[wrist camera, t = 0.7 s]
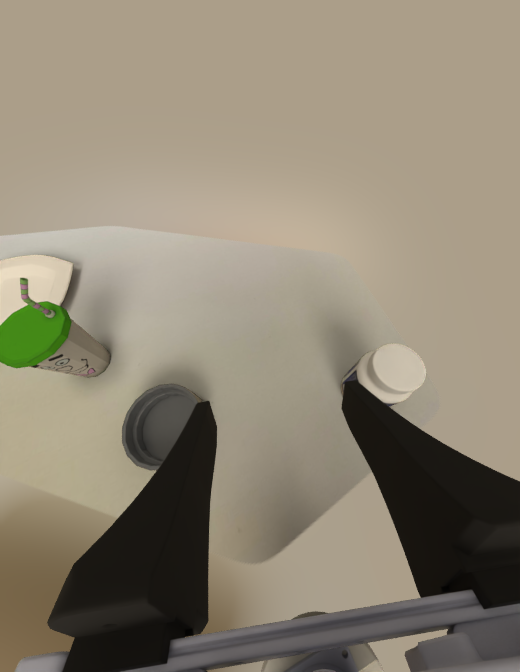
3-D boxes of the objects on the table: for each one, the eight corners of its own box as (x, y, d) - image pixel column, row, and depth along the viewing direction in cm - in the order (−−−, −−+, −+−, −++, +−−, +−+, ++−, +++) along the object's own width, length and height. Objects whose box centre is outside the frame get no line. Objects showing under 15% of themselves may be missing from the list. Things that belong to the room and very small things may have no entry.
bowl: (220, 445, 28) (213, 445, 25) (146, 482, 27) (129, 486, 24) (197, 379, 32) (188, 371, 29) (131, 408, 31) (115, 404, 28)
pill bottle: (383, 419, 28) (432, 406, 20) (336, 405, 30) (362, 386, 21) (387, 375, 31) (433, 346, 22) (343, 364, 32) (370, 331, 23)
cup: (68, 396, 32) (-81, 360, 19) (69, 348, 36) (-58, 288, 22) (123, 377, 33) (18, 329, 20) (119, 331, 36) (26, 263, 23)
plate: (93, 263, 43) (85, 255, 42) (43, 360, 35) (31, 356, 33) (2, 261, 45) (-9, 253, 43) (-66, 353, 37) (-83, 348, 35)
